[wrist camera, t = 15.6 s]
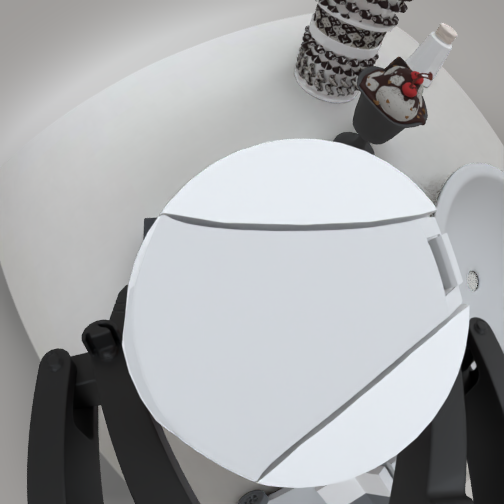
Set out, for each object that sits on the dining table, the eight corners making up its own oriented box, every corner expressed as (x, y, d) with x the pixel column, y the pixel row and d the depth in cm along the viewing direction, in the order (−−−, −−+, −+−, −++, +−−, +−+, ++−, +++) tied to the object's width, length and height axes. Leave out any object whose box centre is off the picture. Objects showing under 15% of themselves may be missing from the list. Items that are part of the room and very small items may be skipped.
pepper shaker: (430, 73, 35) (462, 30, 24) (432, 93, 33) (469, 48, 23) (401, 57, 35) (430, 11, 24) (401, 76, 33) (435, 26, 23)
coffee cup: (293, 240, 21) (403, 101, 6) (331, 350, 20) (503, 394, 5) (178, 276, 20) (63, 183, 5) (216, 391, 18) (189, 543, 4)
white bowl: (456, 421, 24) (492, 435, 18) (347, 267, 27) (380, 252, 20) (534, 288, 29) (565, 281, 22) (457, 154, 31) (486, 131, 25)
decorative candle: (374, 88, 32) (459, -59, 8) (334, 117, 30) (429, -73, 6) (321, 48, 33) (373, -100, 9) (276, 72, 31) (315, -114, 7)
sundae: (353, 190, 29) (435, 100, 14) (312, 140, 29) (363, 32, 15) (391, 163, 30) (470, 82, 15) (353, 119, 31) (410, 25, 16)
